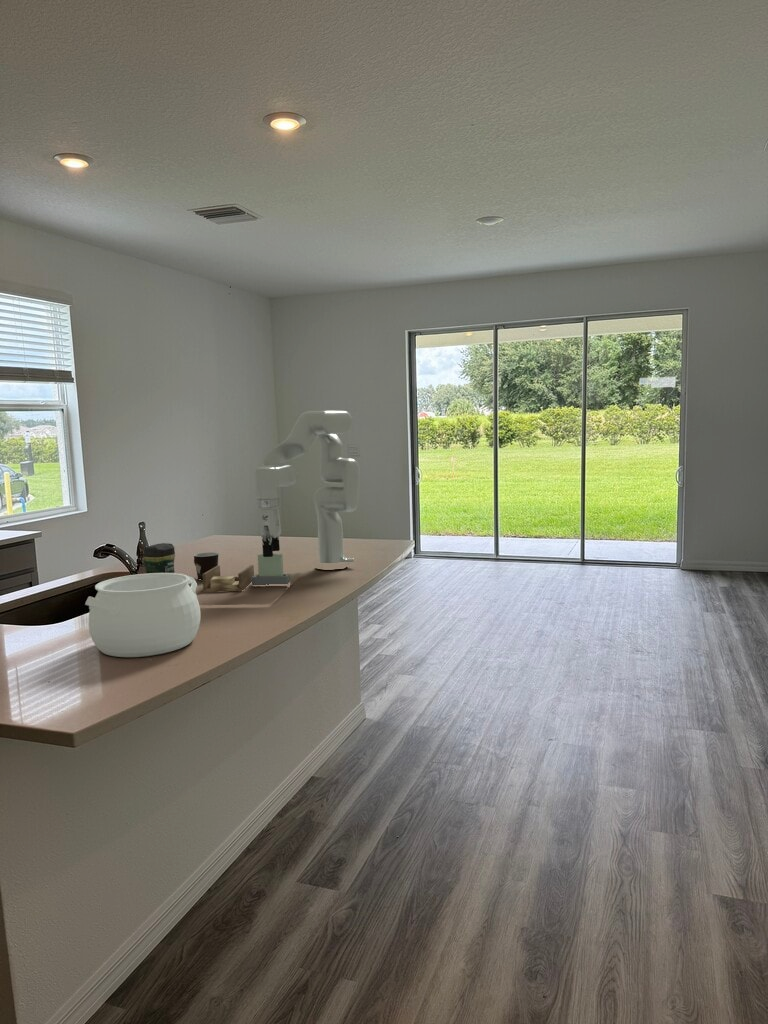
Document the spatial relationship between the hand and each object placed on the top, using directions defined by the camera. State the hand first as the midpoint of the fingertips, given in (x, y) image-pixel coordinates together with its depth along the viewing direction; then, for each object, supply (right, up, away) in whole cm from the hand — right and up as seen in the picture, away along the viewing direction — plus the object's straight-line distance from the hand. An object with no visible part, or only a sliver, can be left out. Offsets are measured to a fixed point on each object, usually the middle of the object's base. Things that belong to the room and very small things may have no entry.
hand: (271, 553), depth 237 cm
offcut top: (-16, -10, -4) cm, 19 cm away
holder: (0, -12, +1) cm, 12 cm away
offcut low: (-14, -12, -4) cm, 19 cm away
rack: (-14, -12, 0) cm, 19 cm away
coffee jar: (-32, -15, -15) cm, 38 cm away
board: (0, -11, 0) cm, 11 cm away
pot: (-21, -19, -61) cm, 68 cm away
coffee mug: (-26, -11, +16) cm, 32 cm away
